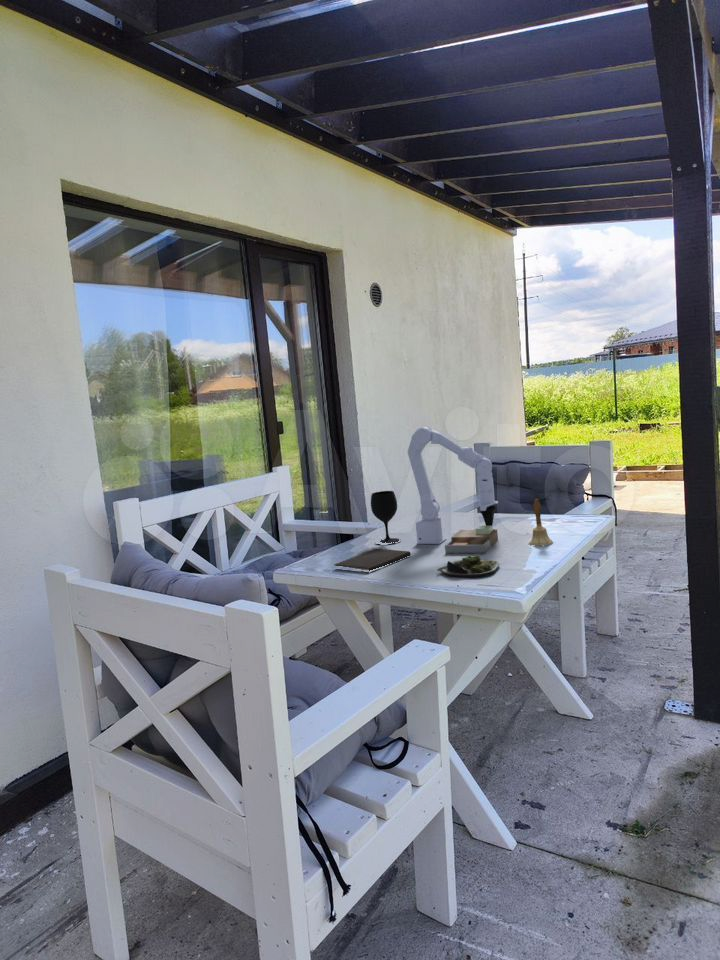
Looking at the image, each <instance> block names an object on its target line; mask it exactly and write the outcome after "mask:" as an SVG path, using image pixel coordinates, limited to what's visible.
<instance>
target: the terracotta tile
mask: <svg viewBox="0 0 720 960" xmlns="http://www.w3.org/2000/svg"><path fill="white" fill-rule="evenodd" d="M452 545H468V543H454V544H452Z"/></svg>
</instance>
